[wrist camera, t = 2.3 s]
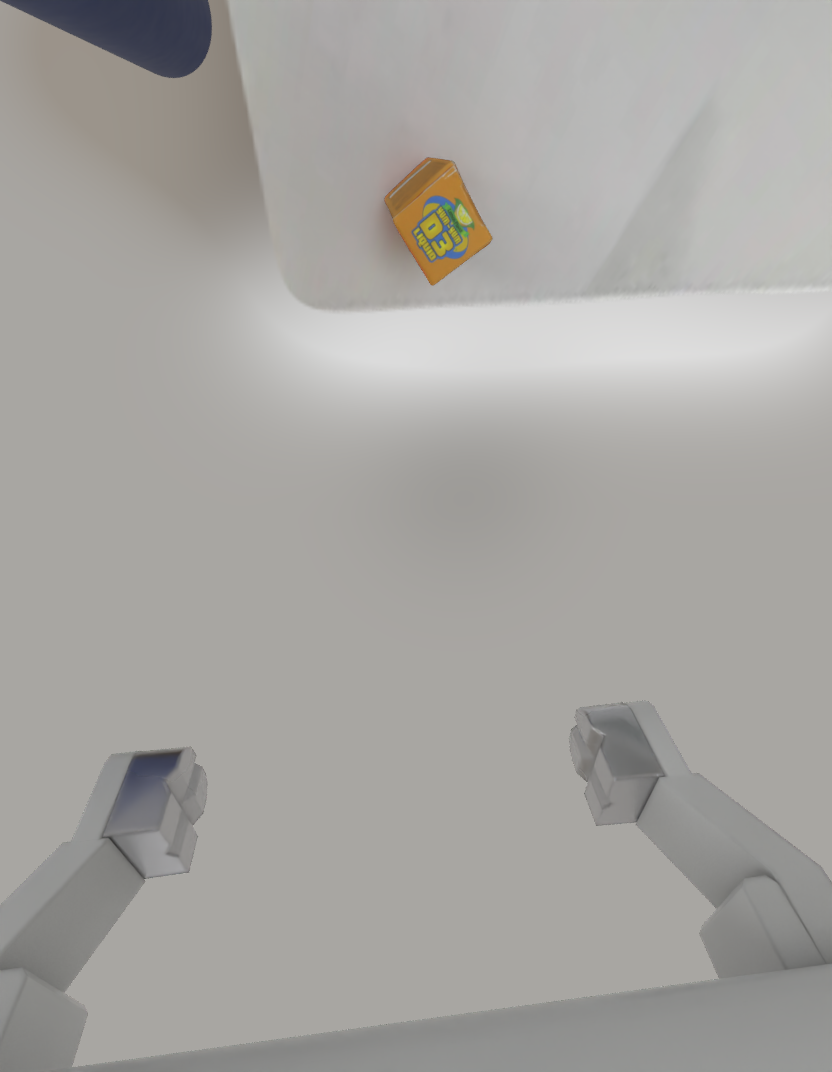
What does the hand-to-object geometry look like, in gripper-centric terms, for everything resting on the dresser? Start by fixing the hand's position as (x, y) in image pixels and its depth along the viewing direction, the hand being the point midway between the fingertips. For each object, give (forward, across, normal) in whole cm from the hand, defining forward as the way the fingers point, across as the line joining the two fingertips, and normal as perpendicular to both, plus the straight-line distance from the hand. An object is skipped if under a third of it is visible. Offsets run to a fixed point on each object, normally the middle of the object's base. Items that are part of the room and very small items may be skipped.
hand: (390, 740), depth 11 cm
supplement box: (+27, -4, -8) cm, 29 cm away
